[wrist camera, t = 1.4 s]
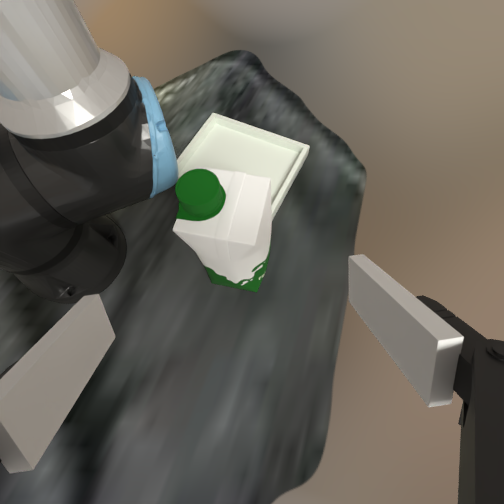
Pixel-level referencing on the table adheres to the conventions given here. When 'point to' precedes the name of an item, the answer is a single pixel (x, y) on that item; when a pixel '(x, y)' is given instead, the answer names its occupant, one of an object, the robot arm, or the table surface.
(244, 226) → the soya milk
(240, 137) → the tray
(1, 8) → the robot arm
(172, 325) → the table surface
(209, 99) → the table surface
